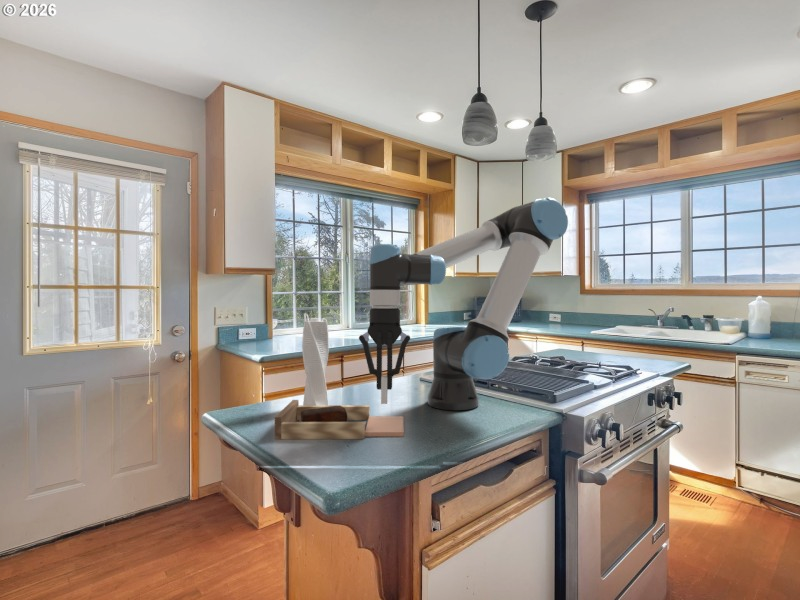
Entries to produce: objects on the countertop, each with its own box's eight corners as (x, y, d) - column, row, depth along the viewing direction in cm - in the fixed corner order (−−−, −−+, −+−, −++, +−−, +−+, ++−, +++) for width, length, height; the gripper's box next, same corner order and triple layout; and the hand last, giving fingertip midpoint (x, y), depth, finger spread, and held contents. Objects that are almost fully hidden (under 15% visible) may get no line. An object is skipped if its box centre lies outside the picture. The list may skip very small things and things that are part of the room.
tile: (403, 420, 113) (403, 416, 113) (403, 436, 100) (403, 432, 100) (369, 420, 113) (369, 416, 113) (364, 436, 100) (364, 432, 100)
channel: (369, 418, 114) (369, 399, 114) (364, 438, 98) (364, 417, 98) (292, 418, 114) (292, 399, 114) (274, 439, 98) (274, 417, 98)
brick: (303, 434, 100) (302, 415, 100) (301, 428, 104) (300, 410, 104) (347, 427, 104) (347, 408, 104) (344, 421, 108) (343, 403, 107)
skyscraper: (296, 410, 122) (295, 312, 122) (310, 404, 129) (310, 311, 129) (319, 413, 119) (319, 313, 119) (333, 407, 126) (333, 312, 126)
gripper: (410, 307, 110) (410, 399, 110) (360, 306, 110) (359, 398, 110) (411, 307, 102) (410, 406, 102) (357, 307, 102) (356, 406, 102)
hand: (384, 402), depth 106 cm, fingers closed
